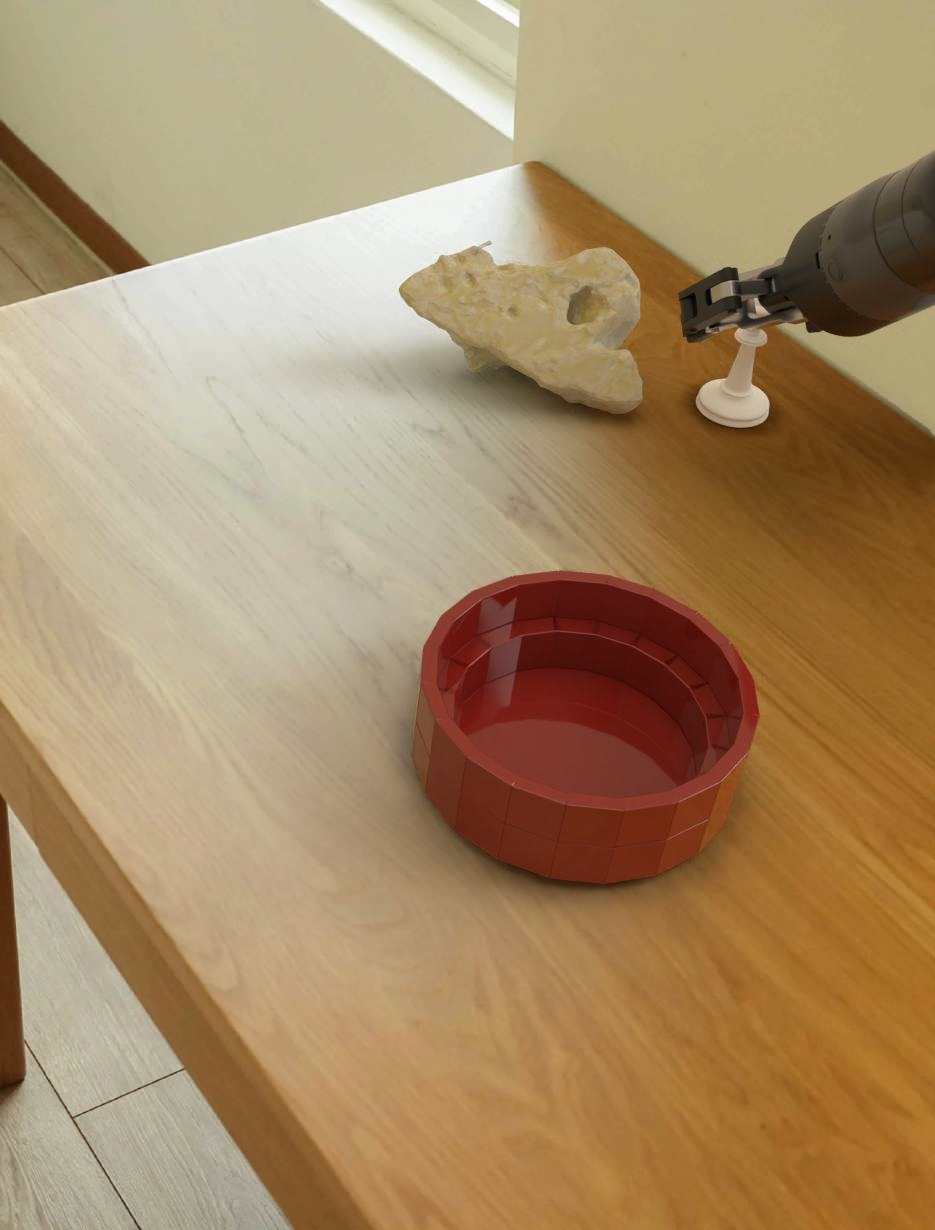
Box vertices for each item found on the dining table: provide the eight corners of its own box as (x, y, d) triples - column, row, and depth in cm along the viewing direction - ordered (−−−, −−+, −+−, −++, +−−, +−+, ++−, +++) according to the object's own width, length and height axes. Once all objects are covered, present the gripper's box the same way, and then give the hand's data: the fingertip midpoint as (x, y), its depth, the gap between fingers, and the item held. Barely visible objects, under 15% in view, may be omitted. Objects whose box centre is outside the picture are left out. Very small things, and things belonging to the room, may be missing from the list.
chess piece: (744, 437, 102) (781, 306, 96) (681, 406, 105) (713, 276, 98) (781, 407, 105) (820, 278, 98) (720, 378, 108) (753, 250, 101)
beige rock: (666, 394, 109) (566, 208, 109) (701, 372, 102) (594, 173, 102) (480, 493, 108) (379, 304, 108) (503, 478, 100) (394, 275, 100)
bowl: (658, 635, 88) (679, 555, 84) (785, 862, 76) (817, 782, 72) (377, 671, 84) (385, 589, 80) (463, 914, 73) (477, 832, 69)
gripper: (991, 178, 86) (840, 259, 102) (759, 193, 84) (641, 273, 100) (1009, 310, 86) (855, 370, 102) (776, 329, 83) (655, 388, 99)
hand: (749, 322), depth 101 cm, fingers open, 8 cm apart
